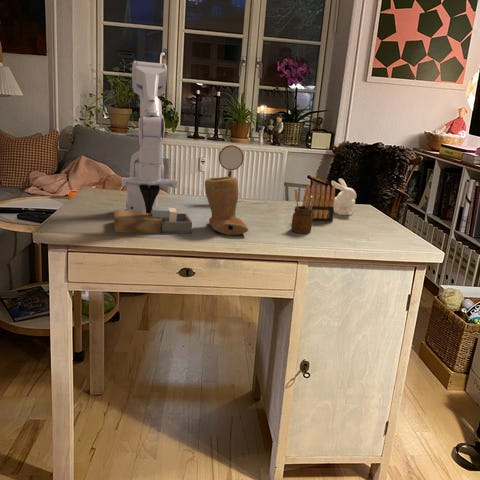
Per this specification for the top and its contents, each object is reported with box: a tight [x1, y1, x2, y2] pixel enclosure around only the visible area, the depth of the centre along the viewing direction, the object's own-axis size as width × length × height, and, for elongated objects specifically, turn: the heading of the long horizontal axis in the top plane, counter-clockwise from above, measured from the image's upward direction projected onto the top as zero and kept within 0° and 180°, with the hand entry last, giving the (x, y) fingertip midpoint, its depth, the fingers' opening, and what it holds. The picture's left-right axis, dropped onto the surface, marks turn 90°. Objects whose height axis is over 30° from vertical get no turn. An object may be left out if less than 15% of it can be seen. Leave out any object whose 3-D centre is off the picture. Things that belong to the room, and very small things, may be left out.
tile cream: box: [167, 207, 178, 222], centre depth 140 cm, size 4×4×2 cm
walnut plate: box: [113, 209, 162, 234], centre depth 138 cm, size 12×10×4 cm
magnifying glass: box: [218, 144, 245, 177], centre depth 176 cm, size 9×2×20 cm, turn 96°
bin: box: [161, 212, 193, 234], centre depth 140 cm, size 8×10×3 cm
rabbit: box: [330, 178, 357, 216], centre depth 178 cm, size 12×9×12 cm
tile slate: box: [151, 205, 170, 218], centre depth 138 cm, size 4×4×2 cm
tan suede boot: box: [204, 176, 249, 236], centre depth 142 cm, size 15×12×15 cm
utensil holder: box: [290, 188, 315, 234], centre depth 148 cm, size 6×6×12 cm
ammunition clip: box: [301, 183, 336, 223], centre depth 161 cm, size 11×2×12 cm, turn 103°
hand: (148, 212), depth 138 cm, fingers closed
